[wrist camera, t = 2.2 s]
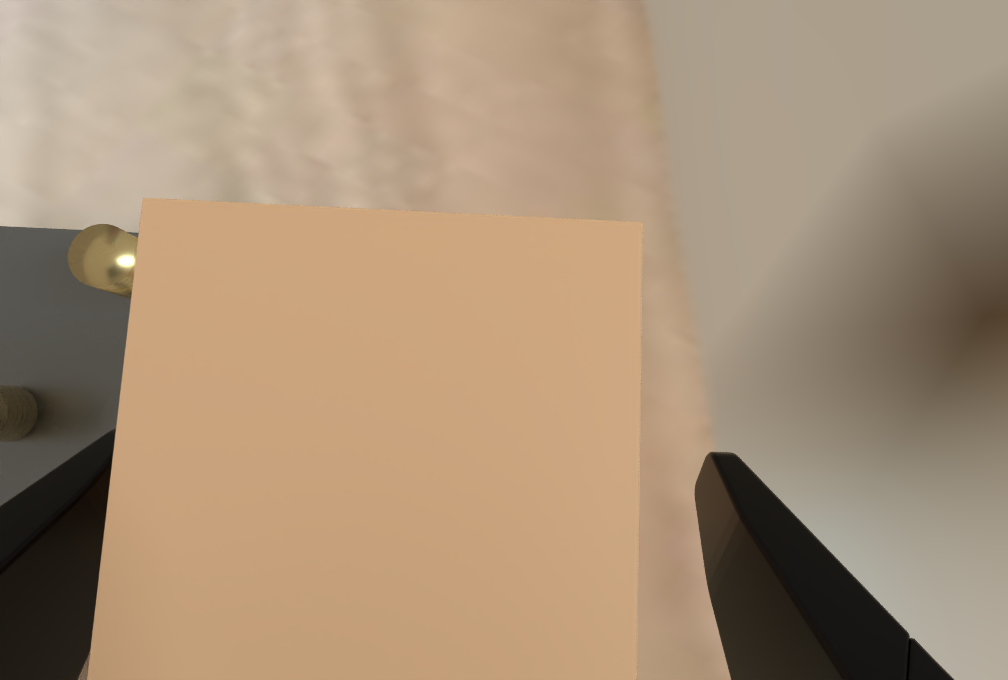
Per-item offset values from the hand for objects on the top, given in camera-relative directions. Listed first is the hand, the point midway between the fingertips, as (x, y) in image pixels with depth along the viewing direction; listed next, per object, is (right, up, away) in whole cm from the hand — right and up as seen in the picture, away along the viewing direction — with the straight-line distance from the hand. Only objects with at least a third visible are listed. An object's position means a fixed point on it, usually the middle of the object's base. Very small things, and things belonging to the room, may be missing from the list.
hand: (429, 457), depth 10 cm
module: (0, -1, +8) cm, 8 cm away
